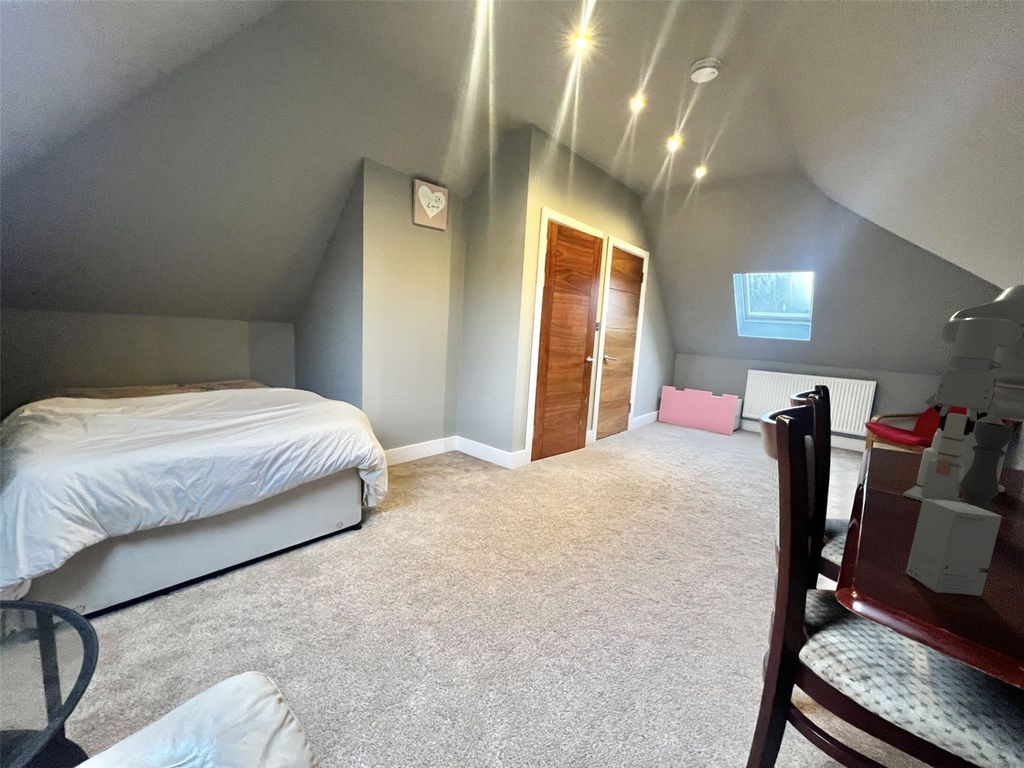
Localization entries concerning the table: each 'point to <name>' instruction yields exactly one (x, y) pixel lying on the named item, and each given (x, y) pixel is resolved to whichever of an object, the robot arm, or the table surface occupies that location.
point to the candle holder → (985, 464)
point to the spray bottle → (929, 456)
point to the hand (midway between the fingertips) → (954, 431)
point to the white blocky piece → (939, 482)
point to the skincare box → (953, 546)
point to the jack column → (952, 439)
